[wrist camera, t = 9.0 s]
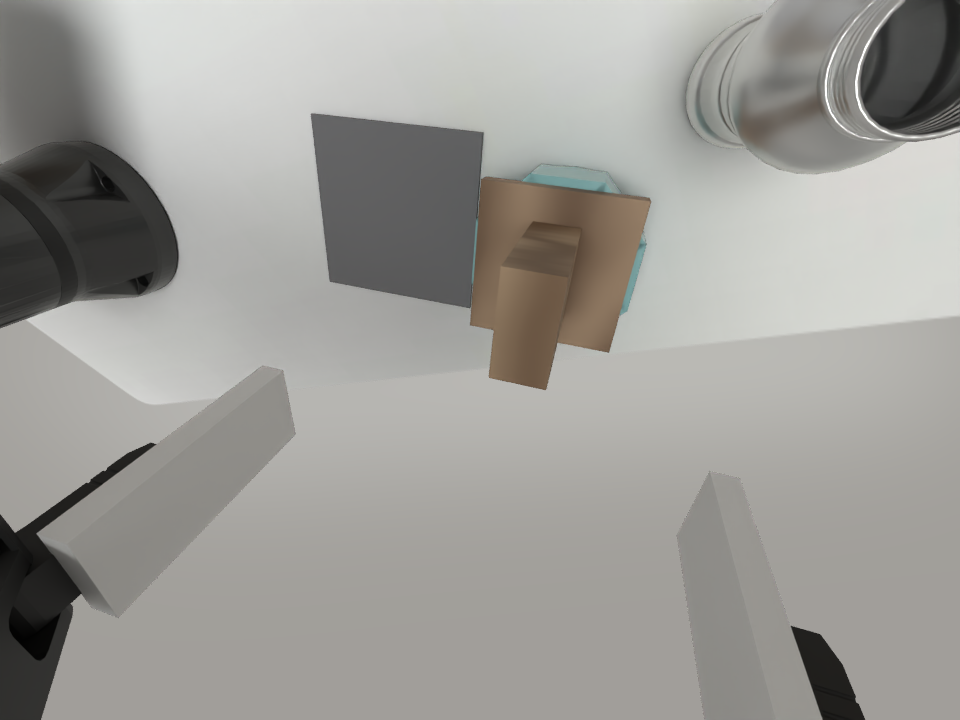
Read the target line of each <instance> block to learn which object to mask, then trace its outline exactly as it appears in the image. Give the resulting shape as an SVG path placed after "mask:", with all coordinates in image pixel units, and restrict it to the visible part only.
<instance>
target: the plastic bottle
mask: <svg viewBox="0 0 960 720" xmlns="http://www.w3.org/2000/svg"><path fill="white" fill-rule="evenodd" d="M686 108H687V114H688V117H689V120H690V122H691V125H692V127H693V128H694V129H695V131H696V132H697V133H698V135H700V136H701V137H702V138H703V139H705V140H706V141H707V142H709V143H711V144H713V145H716V146H719V147H723V148H731V149H741V148H746V149H748V150H749V151H750V152H751V153H752V154H754V155H755V156H756V157H757V158H759V159H760V160H761V161H763V162H764V163H766V164H768V165H771V166H773V167H775V168H777V169H779V170H783V171H788V172H792V173H797V174H822V173H829V172H836V171H841V170H844V169H847V168H851V167H854V166H857V165H861V164H863V163H866V162H869V161H871V160H874V159H876V158H878V157H880V156H882V155H885V154H887V153H889V152H891V151H893V150H895V149H897V148H898V147H900V146H901V145H903V144H905V143H906V142H917V141H924V140H931V139H936V138H941V137H944V136H948V135H951V134H954V133H958V132H960V0H777V1H775V2H774V3H773V4H772V6H771V7H770V8H769V9H768V10H767V11H766V13H762V14H758V15H754V16H750V17H748V18H746V19H743V20H741V21H739V22H737V23H735V24H734V25H732V26H731V27H729V28H727V29H726V30H724V31H723V32H722V33H721V34H720V35H719V36H717V37H716V38H715V39H714V40H713V41H712V42H711V43H710V44H709V46H708V47H707V48H706V49H705V50H704V52H703V53H702V54H701V56H700V57H699V59H698V61H697V63H696V64H695V66H694V68H693V71H692V73H691V76H690V78H689V82H688V86H687V91H686Z"/></svg>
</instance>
